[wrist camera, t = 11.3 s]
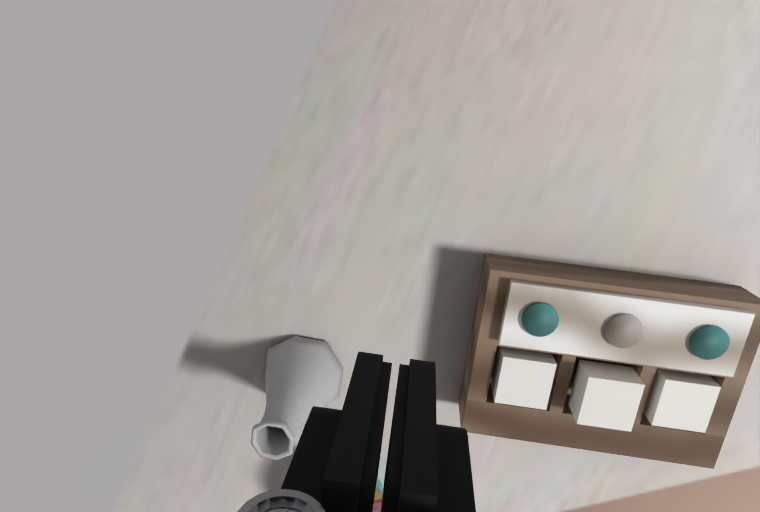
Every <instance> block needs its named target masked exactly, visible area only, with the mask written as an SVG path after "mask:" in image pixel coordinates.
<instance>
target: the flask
mask: <svg viewBox="0 0 760 512" xmlns="http://www.w3.org/2000/svg"><path fill="white" fill-rule="evenodd" d="M342 373H343V367H342V366H341V364H340V362H339V361H338V359H337V357H336V356H335V354H334V352H333V351H332V349H331V347H330V346H329V344H328V342H326V341H320V340H315V339H309V338H304V337H298V336H294V337H292V338H289V339H287V340H285V341H283V342H281V343H279V344H276V345H274V346H272V347H270V348H268V351H267V361H266V372H265V386H266V409H265V414H264V416H263V418H262V420H261V422H260V423H259V424H256V425H255V426H253V428H252V438H251V444H252V446H253V447H254V449H255V450H256V452H257V453H258V455H259V456H260V457H263V458H268V459H273V460H279V459H281V458H284V457H286V456H289V455H291V454H292V453H293V446H294V437H295V434H296V433H297V432H298V430H299V429H300V428H301V427H302V425H303V424H304V423H305V422H306V421H307V419H308V416H309V414H310V411H311V409H312V407H313V406H316V407H323V408H324V407H325V406H326V405H328V404H329V403H331V402H332V401H333V400H335V399H336V398H337V397H339V393H340V386H341V379H342Z"/></svg>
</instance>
